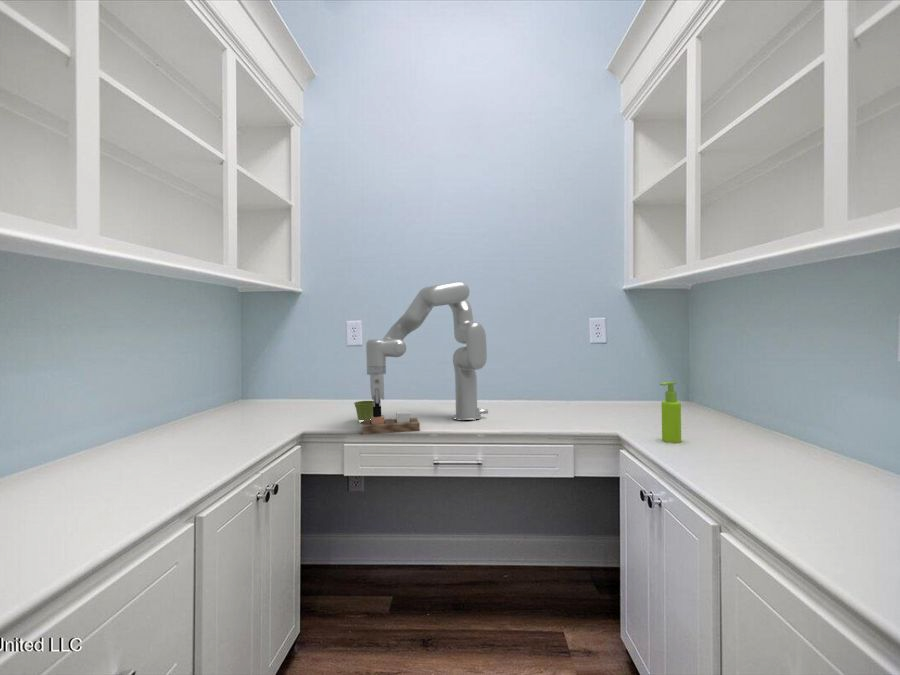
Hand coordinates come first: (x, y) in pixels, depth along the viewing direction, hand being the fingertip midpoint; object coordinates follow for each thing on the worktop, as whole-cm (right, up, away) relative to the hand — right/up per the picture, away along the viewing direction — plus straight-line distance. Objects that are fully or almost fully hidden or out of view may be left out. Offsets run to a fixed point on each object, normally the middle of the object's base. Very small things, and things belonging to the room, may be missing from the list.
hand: (377, 416), depth 182 cm
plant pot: (-8, -6, +17) cm, 20 cm away
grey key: (+10, -3, +2) cm, 11 cm away
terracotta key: (0, -4, 0) cm, 4 cm away
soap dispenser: (+104, -4, -27) cm, 107 cm away
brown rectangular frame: (+5, -5, +1) cm, 7 cm away
